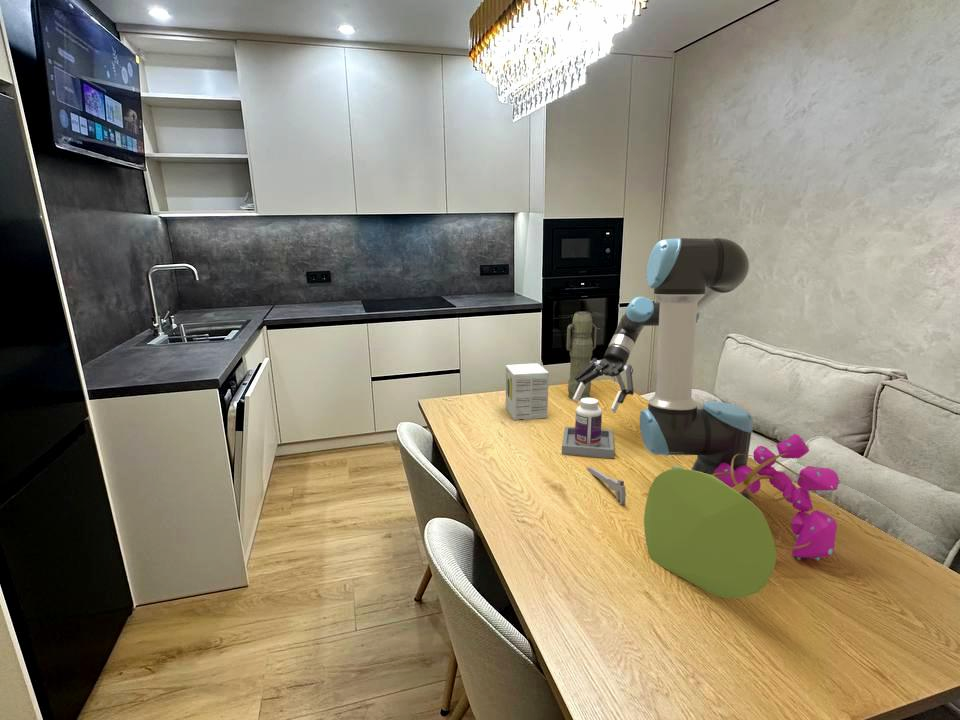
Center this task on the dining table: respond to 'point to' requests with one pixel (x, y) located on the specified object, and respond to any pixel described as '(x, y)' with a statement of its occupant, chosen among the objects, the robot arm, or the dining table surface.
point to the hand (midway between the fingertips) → (593, 405)
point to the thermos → (580, 349)
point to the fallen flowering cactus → (734, 521)
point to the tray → (601, 450)
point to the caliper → (611, 484)
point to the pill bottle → (588, 423)
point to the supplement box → (527, 391)
